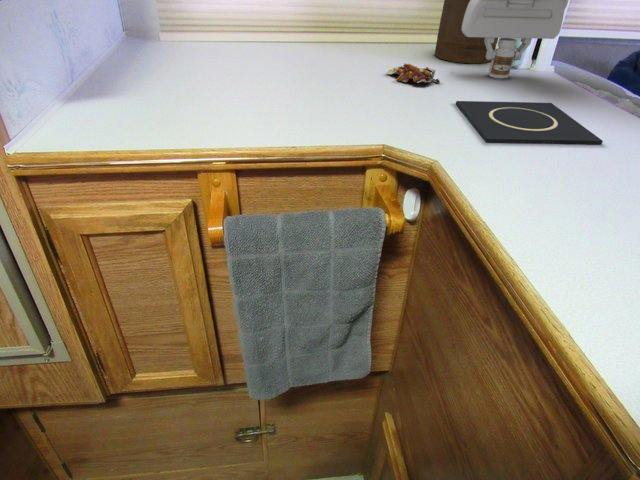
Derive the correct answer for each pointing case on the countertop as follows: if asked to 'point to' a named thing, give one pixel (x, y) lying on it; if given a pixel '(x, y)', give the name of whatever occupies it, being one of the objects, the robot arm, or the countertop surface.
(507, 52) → the pill bottle
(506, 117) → the mat
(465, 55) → the wooden container
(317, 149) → the countertop surface
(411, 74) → the reddish brown crumpled piece
